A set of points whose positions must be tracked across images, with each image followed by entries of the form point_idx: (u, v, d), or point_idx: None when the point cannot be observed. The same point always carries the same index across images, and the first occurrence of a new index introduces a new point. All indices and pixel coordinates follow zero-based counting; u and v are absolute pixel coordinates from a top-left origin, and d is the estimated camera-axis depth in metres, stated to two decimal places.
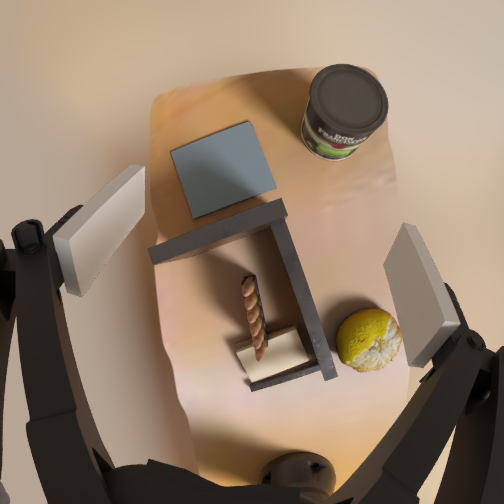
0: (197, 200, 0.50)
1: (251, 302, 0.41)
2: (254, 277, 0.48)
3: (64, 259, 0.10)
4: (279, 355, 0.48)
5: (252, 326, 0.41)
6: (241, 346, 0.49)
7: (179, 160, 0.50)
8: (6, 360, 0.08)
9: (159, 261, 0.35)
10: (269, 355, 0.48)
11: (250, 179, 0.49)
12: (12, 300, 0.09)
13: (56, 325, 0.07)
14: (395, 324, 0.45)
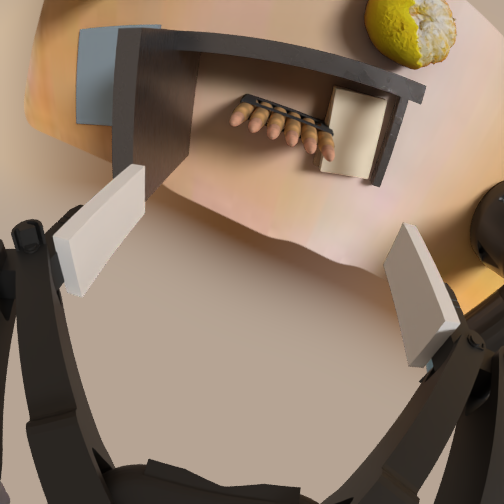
0: None
1: (252, 120, 0.26)
2: None
3: (64, 259, 0.10)
4: (356, 127, 0.32)
5: (285, 137, 0.27)
6: (318, 160, 0.36)
7: (87, 117, 0.37)
8: (6, 360, 0.08)
9: None
10: (349, 138, 0.33)
11: None
12: (12, 300, 0.09)
13: (56, 325, 0.07)
14: None
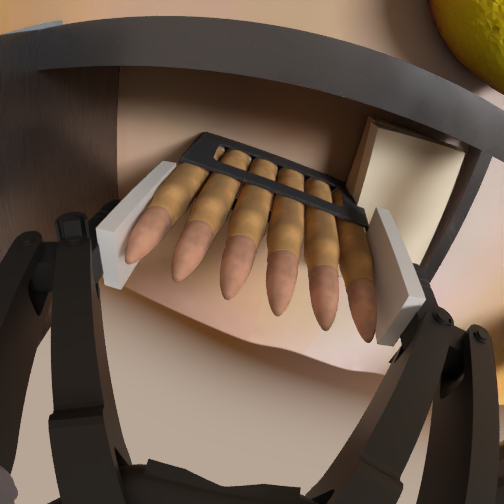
0: None
1: (184, 237, 0.11)
2: None
3: (106, 251, 0.11)
4: (407, 201, 0.17)
5: (267, 271, 0.12)
6: None
7: None
8: (32, 355, 0.08)
9: None
10: None
11: None
12: (46, 295, 0.10)
13: (92, 321, 0.07)
14: None
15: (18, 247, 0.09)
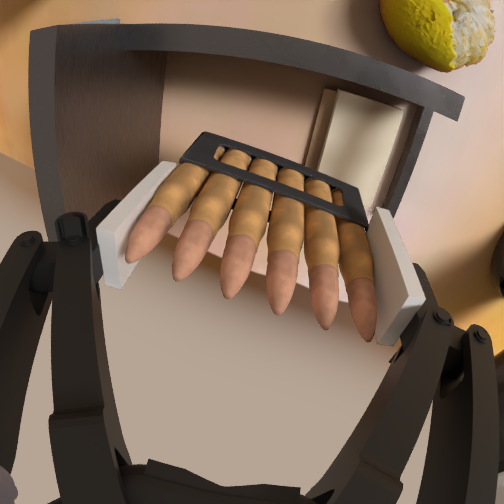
0: None
1: (185, 237, 0.11)
2: None
3: (106, 251, 0.11)
4: (362, 141, 0.26)
5: (267, 270, 0.12)
6: None
7: None
8: (33, 355, 0.08)
9: None
10: (351, 155, 0.27)
11: None
12: (46, 295, 0.10)
13: (92, 321, 0.07)
14: None
15: (18, 247, 0.09)
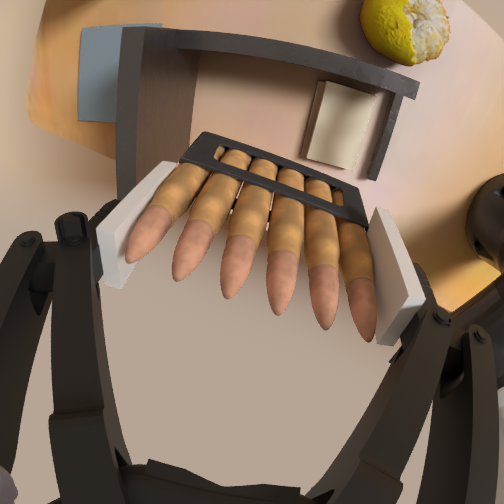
0: None
1: (185, 237, 0.11)
2: None
3: (106, 251, 0.11)
4: (344, 119, 0.34)
5: (267, 270, 0.12)
6: (304, 151, 0.38)
7: (89, 114, 0.38)
8: (32, 355, 0.08)
9: None
10: (336, 129, 0.35)
11: None
12: (46, 295, 0.10)
13: (92, 321, 0.07)
14: None
15: (18, 247, 0.09)
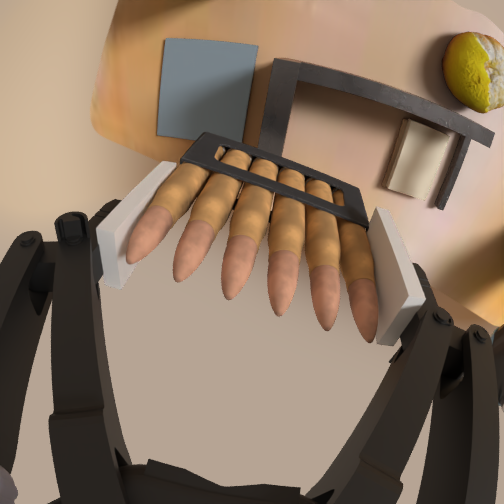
0: (223, 132, 0.40)
1: (185, 237, 0.11)
2: (193, 143, 0.17)
3: (106, 251, 0.11)
4: (422, 155, 0.36)
5: (268, 271, 0.12)
6: (385, 182, 0.40)
7: (170, 130, 0.41)
8: (32, 355, 0.08)
9: None
10: (415, 164, 0.37)
11: (232, 67, 0.35)
12: (46, 295, 0.10)
13: (92, 321, 0.07)
14: (483, 37, 0.23)
15: (18, 247, 0.09)
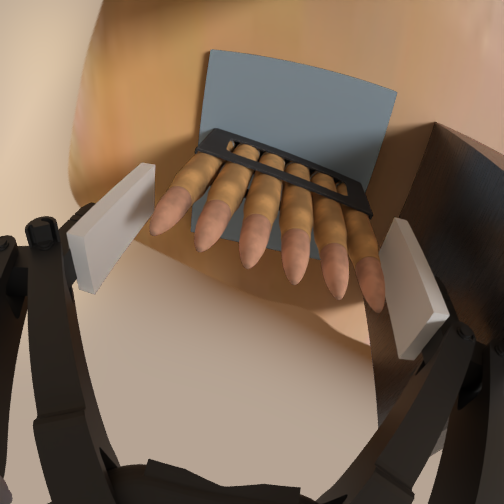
0: (313, 239, 0.24)
1: (205, 213, 0.12)
2: (205, 137, 0.18)
3: (78, 256, 0.10)
4: None
5: (281, 247, 0.13)
6: None
7: None
8: (14, 358, 0.08)
9: None
10: None
11: (346, 127, 0.19)
12: (23, 298, 0.09)
13: (68, 323, 0.07)
14: None
15: None
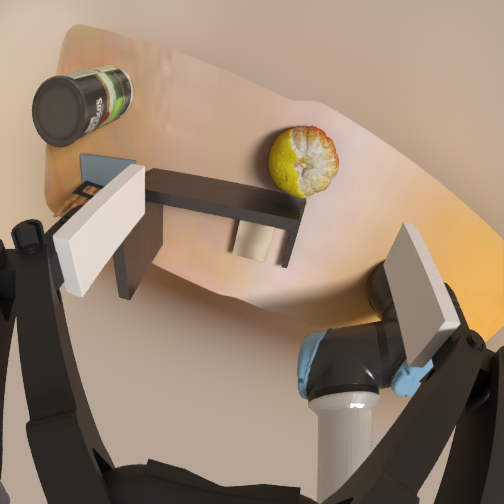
0: None
1: None
2: (79, 186, 0.52)
3: (64, 259, 0.10)
4: (256, 231, 0.55)
5: None
6: None
7: None
8: (6, 360, 0.08)
9: (128, 296, 0.48)
10: (251, 237, 0.56)
11: None
12: (12, 300, 0.09)
13: (56, 325, 0.07)
14: (300, 134, 0.42)
15: None
